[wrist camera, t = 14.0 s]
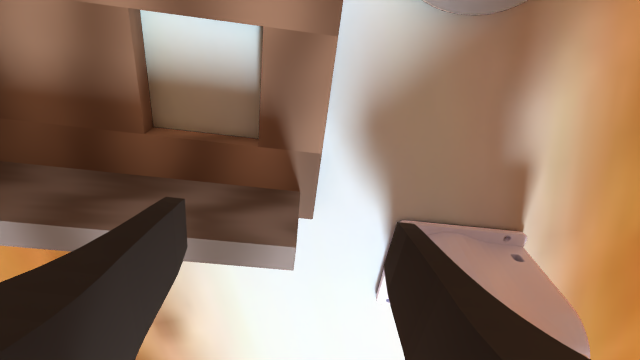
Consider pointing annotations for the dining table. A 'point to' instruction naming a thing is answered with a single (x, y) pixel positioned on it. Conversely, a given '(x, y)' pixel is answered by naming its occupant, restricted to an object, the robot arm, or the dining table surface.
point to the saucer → (474, 6)
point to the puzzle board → (157, 129)
